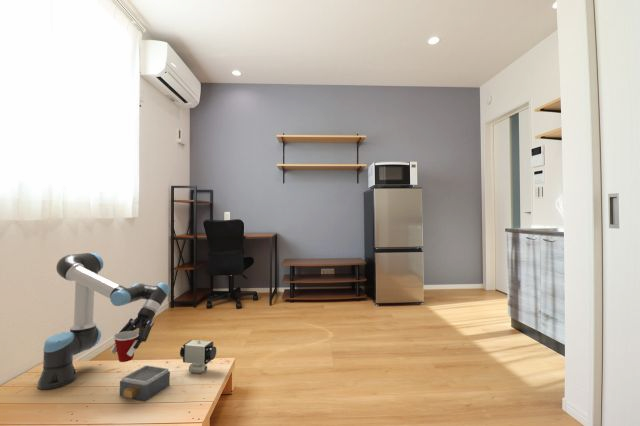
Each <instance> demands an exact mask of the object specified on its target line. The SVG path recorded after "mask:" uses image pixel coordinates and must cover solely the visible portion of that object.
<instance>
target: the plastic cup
mask: <svg viewBox="0 0 640 426" xmlns="http://www.w3.org/2000/svg"><path fill="white" fill-rule="evenodd" d="M119 332H120V331H119ZM119 332H118V333H116V334H114V335H113V340H114V344H115V343H116V348H117V352H116V355H117V358H118V362H120V363H126V362H129V361H132V360H133V359H134V356H135V352H134V353H133V355H132V356H129V355H127V352H128V351H129V349H130V348H131V346H132V345H133V343H134V341H135V340H136V339H138V336H139V335H138V334H139V331H137V330H134V331H124V332H120V333H119Z"/></svg>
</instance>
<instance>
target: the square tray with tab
mask: <svg viewBox="0 0 640 426" xmlns="http://www.w3.org/2000/svg"><path fill="white" fill-rule="evenodd" d="M170 377H171V371H169V368H167V367H161V366H154V365H143V366H141V367H139V368H138V369H135V370H134V371H132V372H130V373H129V374H126V375H124V376H122V377H121V380H120V381H119V397H120V398H124V399H130V400H134V401H139V402H144V403H146V402H147V401H149V400H150V399H151V398H153V397H155V396H157V395H158V394H159V393H161V392H163V391H164V390H165V389H167V388H168V387H170V384H171V382H170V380H171V378H170Z"/></svg>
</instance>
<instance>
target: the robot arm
mask: <svg viewBox="0 0 640 426" xmlns="http://www.w3.org/2000/svg"><path fill="white" fill-rule="evenodd" d="M103 268H104V261H103V258H102V256H100V255H99V254H98V253H95V252H87V253H86V252H85V253H77V254H68V255H67V254H66V255H64V256H63V257H61V258H59V261H57V263H56V269H55V270H56V272H57V274H58V275H59V277H61V278H62V279H64V280H66V281H68V282H69V281H70V282H73V281H74V282H75V283H74V284H75V285H74V289H75V290H74V312H73V313H74V314H73V315H74V317H73V324H72V325H71V327H70V329H69V331H65V332H60V333H55V334H53V335H51V336H49V337H48V338H47V339H46V340H45V341H44V347H43V366H42V371H41V373H40V377H39V379H38V381H37V389H39V388H40V389H39V390H53V389H57V388H62V387H65V386H67V385H69V384H71V383H72V382H74V381H75V380H76V379H77V372H76V369H75V366H74V363H73V362H74V361H73V360H74V356H76V355H78V354H81V353H82V352H85V351H88V350H90V349H92V348H93V347H95V346H96V345H97V344H98V343H100V340H101V337H102V331H101V330H100V328H99V327H98V326H97V323H95V322H94V305H95V304H94V303H95V292H96V293H98V294H100V295H102V296H104V297H106V298H108V299H110V303H112V305H113V306H115V307H120V306H125V305H128V304H130V303H134V302H137V301H140V300H145V302H144V303H143V305H142V307H141V308H140V310H139V311H138V313H137V317H136V318H135V319H133V318H131V317H130V319H129V320H128V321H127V322H126V324H125V325H124V326H123V328H121V330H119V332H118V333H120V332H124V331H137V329H138V332H139V334H138V335H139V336H138V339H136V340H135V341H134V343H133V345H132V346H131V348H130V349H129V351H128V352H127V355H129V356H132V355H133V353H134V354H135V353H136V350H137V349H138V348H139V347H140V345H141V343H144V342H145V343H146V341H147V339H148V337H149V335H150V332H151V330H152V327H153V326H154V324H155V322H154V321H153V319H154V318H155V316H156V314H157V313H158V311H159V309H160V308H161V306H162V304H163V303H164V301H165V300H166V298H167V297H168V295H169V293H170V291H171V286H170V285H168V283H165V282H159V283H157V284H155V285H148V284H146V283H145V284H144V283H137V282H136V283H134V284H132V285H131V286H130V287H125V286H124V285H121V284H119V283H117V282H114V281H113V280H111V279H108V278H106V277H104V276H103V275H101V274H99V272H101V270H102V269H103ZM110 353H111V354H114V355H116V354H117V348H116V343H115V342H114V345H113V346H112V348H111V349H110Z"/></svg>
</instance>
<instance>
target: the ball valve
mask: <svg viewBox="0 0 640 426" xmlns="http://www.w3.org/2000/svg"><path fill="white" fill-rule="evenodd" d="M179 355H180V357H181V358H182V362H183V363H184V364H190V365H189V366H188V372H189V373H190V374H191V373H192V374H200V375H203V374H206V373H207V371H208V365H207V364H209V363H210V362H211V361H212V360H214V359H215V358H216V356H217V347H216V346H215V344H214V341H210V340H209V341H208V340H201V339H196V340H194V339H190V340H188V341H187V342H185V343H184V344H183V345H182V346H181V348H180V350H179Z"/></svg>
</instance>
